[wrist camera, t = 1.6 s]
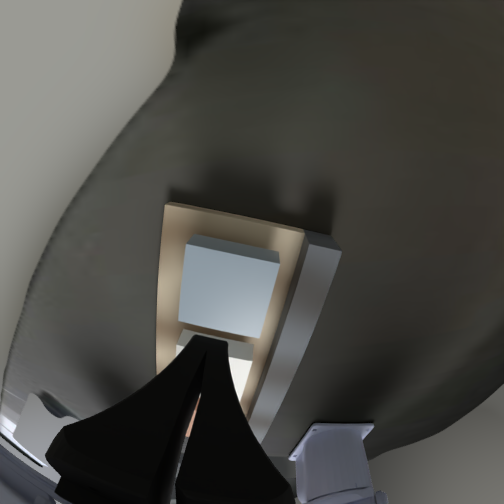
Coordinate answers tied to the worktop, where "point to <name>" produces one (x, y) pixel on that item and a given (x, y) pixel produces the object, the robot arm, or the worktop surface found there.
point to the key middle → (237, 354)
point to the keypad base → (280, 307)
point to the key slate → (227, 285)
